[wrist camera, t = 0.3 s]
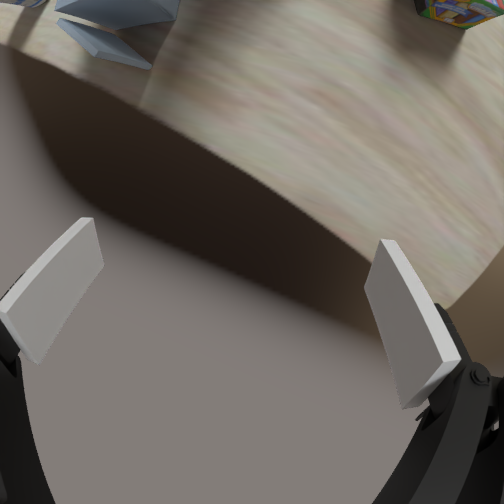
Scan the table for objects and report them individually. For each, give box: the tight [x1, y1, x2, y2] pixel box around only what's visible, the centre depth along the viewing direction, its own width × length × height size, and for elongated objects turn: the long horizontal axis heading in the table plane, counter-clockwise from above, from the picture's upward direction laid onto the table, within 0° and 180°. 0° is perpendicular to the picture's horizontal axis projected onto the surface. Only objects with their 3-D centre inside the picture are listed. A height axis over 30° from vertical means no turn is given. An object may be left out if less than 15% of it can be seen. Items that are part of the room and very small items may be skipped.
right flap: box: [56, 18, 152, 70], centre depth 23 cm, size 10×1×12 cm, turn 44°
